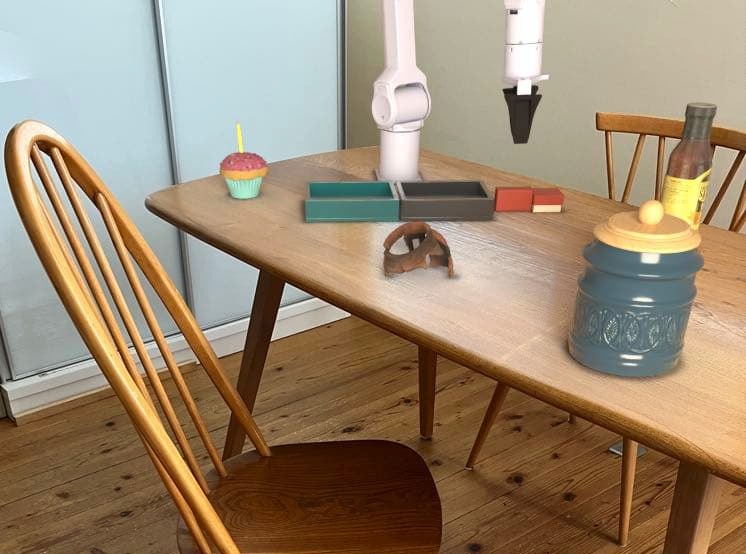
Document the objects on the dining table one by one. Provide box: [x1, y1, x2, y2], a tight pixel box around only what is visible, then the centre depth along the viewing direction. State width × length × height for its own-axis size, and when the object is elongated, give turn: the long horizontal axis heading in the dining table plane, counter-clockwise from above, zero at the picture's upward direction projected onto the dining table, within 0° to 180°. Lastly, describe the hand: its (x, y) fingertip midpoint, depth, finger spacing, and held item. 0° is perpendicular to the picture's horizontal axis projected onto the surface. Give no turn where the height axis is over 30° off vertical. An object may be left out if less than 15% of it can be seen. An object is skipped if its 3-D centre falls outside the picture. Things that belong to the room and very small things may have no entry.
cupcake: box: [218, 119, 269, 200], centre depth 155 cm, size 9×8×12 cm
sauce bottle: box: [659, 102, 718, 233], centre depth 131 cm, size 7×6×20 cm
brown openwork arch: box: [382, 220, 455, 279], centre depth 126 cm, size 12×10×8 cm
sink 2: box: [394, 179, 495, 222], centre depth 151 cm, size 12×15×3 cm
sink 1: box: [304, 180, 400, 223], centre depth 150 cm, size 12×15×3 cm
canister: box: [567, 199, 705, 378], centre depth 101 cm, size 13×13×18 cm
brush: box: [493, 186, 565, 213], centre depth 152 cm, size 5×11×3 cm, turn 92°
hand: (519, 139), depth 144 cm, fingers open, 7 cm apart
